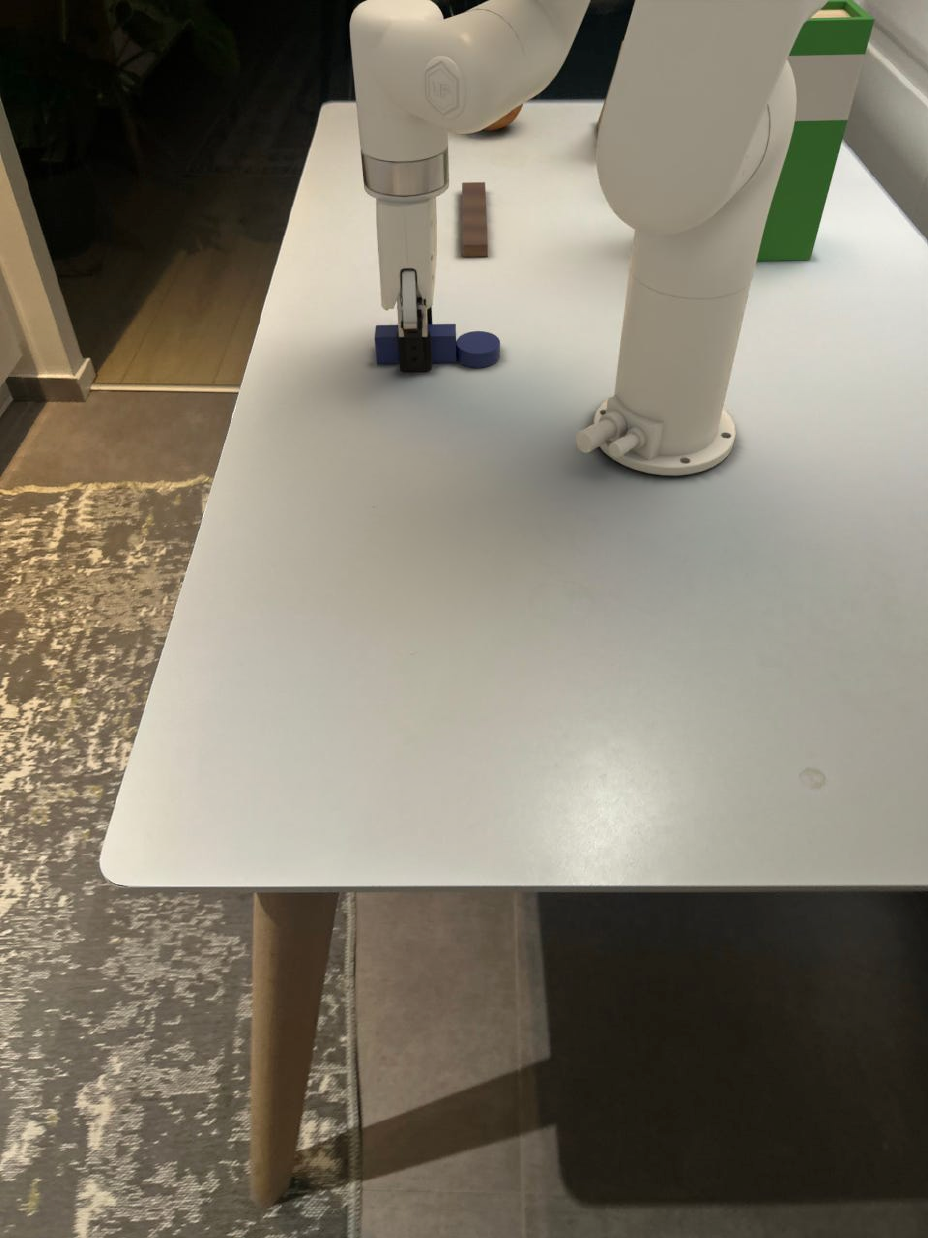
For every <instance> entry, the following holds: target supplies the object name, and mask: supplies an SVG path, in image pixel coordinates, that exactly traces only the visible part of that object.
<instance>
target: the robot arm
mask: <svg viewBox="0 0 928 1238" xmlns="http://www.w3.org/2000/svg"><path fill="white" fill-rule="evenodd" d="M828 1H829V0H634V3H633V6H632V11H631V15H630V18H629V21H628V25H627V28H626V32H625V34H624V39H623V40H622V41H623V45H622V48H621V47H620V48H621V52H620V51H619V52H620V55H619V54H618V55H619V59H618V58H617V59H618V62H617V61H616V63H617V65H616V64H615V66H616V69H615V68H614V70H615V72H614V71H613V73H614V76H613V75H612V76H613V79H612V78H611V79H612V83H611V86H610V85H609V86H610V90H609V93H608V92H607V93H608V97H607V100H606V104H605V107H604V111H603V115H602V119H601V123H600V128H599V131H598V134H597V140H596V149H595V150H596V152H595V153H596V155H595V157H596V160H595V162H596V172H597V178H598V183H599V185H600V188H601V191H602V194H603V196H604V199H605V201H606V202H607V204H608V206H609V207H610V209H611V210H612V212H613V213H614V214H615V215H616V216H617V217H618V219H619V220H621V222H623V223H624V224H625V225H627V226H628V227H630V228H631V229H633V230H634V233H633V239H632V245H631V246H632V247H631V254H630V262H629V267H628V275H627V284H626V293H625V301H624V309H623V316H622V317H623V318H622V326H621V334H620V342H619V352H618V361H617V366H616V367H617V368H616V376H615V384H614V393H613V395H612V396H611V395H610V396H609V397H608V398H607V399H605V400H604V401H603V402H602V403H600V405H599V407H598V408H597V409H596V412H595V414H594V417H593V424H591V425H589V426H587V427H585V428H584V429H583V428H582V430H580V431H578V432H577V433H576V434H575V438H574V441H575V443H576V446H577V448H578V450H580V451H581V452H582V453H583V454H584V453H585V454H589V453H590V452H592V451H594V450H595V449H597V448H600V449H601V450H602V452H603V453H604V454H606V455H607V456H608V457H609V458H611V460H613V461H616V462H617V463H619V464H621V465H623V466H624V467H627V468H629V469H632V470H634V471H639V472H642V473H645V474H650V475H657V476H671V477H672V476H673V477H674V476H676V477H677V476H685V475H692V474H697V473H702V472H704V471H706V470H709V469H712V468H714V467H715V466H717V465H718V464H720V463H722V462H723V461H724V460H725V459H726V458H727V457H728V456H729V455H730V453H731V451H732V450H733V448H734V443H735V440H736V425H735V423H734V420H733V418H732V417H731V415H730V414H729V412H728V411H727V410H726V409H725V408H724V405H725V401H726V396H727V393H728V387H729V384H730V379H731V374H732V370H733V365H734V361H735V356H736V352H737V348H738V343H739V339H740V335H741V330H742V326H743V321H744V316H745V311H746V308H747V304H748V298H749V294H750V290H751V285H752V281H753V279H754V274H755V269H756V266H757V262H758V261H757V257H758V252H759V248H760V243H761V239H762V235H763V231H764V227H765V224H766V220H767V216H768V212H769V209H770V206H771V202H772V199H773V196H774V192H775V189H776V186H777V183H778V180H779V176H780V173H781V170H782V167H783V164H784V161H785V158H786V154H787V151H788V148H789V144H790V140H791V136H792V132H793V128H794V122H795V116H796V103H797V98H796V85H795V79H794V76H793V72H792V69H791V66H790V64H789V62H788V60H787V58H788V56H789V54H790V51H791V49H792V47H793V45H794V42H795V40H796V38H797V36H798V34H799V32H800V30H801V28H802V26H803V24H804V23H805V22H806V21H807V20H809V19H810V18H811V17H812V16H813V15H814V14H816V13H817V12H818V11H819V10H820V9H821V8H822V7H823V6H824V5H825V4H826V3H827V2H828ZM590 3H591V0H486V1H484V2H482V3H481V4H478V5H477V6H473V7H472V8H470V9H468V10H466V11H464V12H462V13H460V14H457V15H453V16H451V17H447V18H445V19H444V15H443V13H442V11H441V9H440V8H439V6H438V5H437V4H436V3H435V2H433V1H432V0H365V1H362V2H361V3H359V4H358V5H357V6H356V7H355V8H354V9H353V11H352V13H351V16H350V20H349V40H350V51H351V61H352V62H351V63H352V72H353V73H352V74H353V81H354V82H353V83H354V94H355V95H354V96H355V105H356V115H357V116H356V117H357V125H358V136H359V137H358V138H359V147H360V159H361V171H362V179H363V181H362V182H363V189H364V191H365V192H366V194H367V195H369V196H370V197H372V198H374V199H375V219H376V223H375V224H376V240H377V241H376V242H377V243H376V244H377V257H378V269H379V270H378V272H379V285H380V286H379V287H380V304H381V305H380V306H381V308H382V309H383V310H385V311H389V310H394V309H395V307H396V309H397V310H396V311H397V325H398V329H399V332H397V340H398V353H399V363H398V364H399V370H400V371H401V372H430V371H432V370H433V363H432V353H431V332H428V326H427V324H433V305H434V297H435V285H436V275H437V261H438V260H437V259H438V222H437V221H438V217H437V216H438V215H437V214H438V213H437V197H440V196H441V195H442V194H444V193H445V192H446V191H448V189H449V188H450V161H449V159H450V158H449V157H450V156H449V132H450V133H455V134H461V135H467V134H474V133H477V132H480V131H482V130H484V128H486V127H488V126H489V125H491V124H493V123H494V122H496V121H497V120H499V119H500V118H502V117H503V116H505V115H507V114H508V113H510V112H511V111H512V110H513V109H515V108H516V107H518V106H519V105H521V104H523V105H524V104H525V103H526V102H528V101H530V100H531V99H533V98H535V97H536V96H537V95H539V94H540V93H542V92H543V91H544V90H545V89H546V88H548V86H549V85H550V84H551V82H552V81H553V80H554V79H555V78H556V76H557V75H558V74H559V72H560V70H561V68H562V66H563V65H564V63H565V61H566V59H567V57H568V55H569V53H570V50H571V49H572V46H573V43H574V41H575V39H576V36H577V35H578V33H579V29H580V28H581V27H580V26H581V24H582V22H583V19H584V17H585V14H586V12H587V10H588V8H589V6H590Z"/></svg>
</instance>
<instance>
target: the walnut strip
mask: <svg viewBox="0 0 928 1238" xmlns="http://www.w3.org/2000/svg"><path fill="white" fill-rule="evenodd" d="M486 193H487V192H486V182H485V181H482V182H481V181H477V182H475V181H474V182H473V181H472V182H471V181H470V182H469V181H468V182H467V181H466V182H462V183H461V237H462V238H461V242H462V243H461V251H462V252H461V254H462V256H461V257H462V258H479V257H480V258H481V257H482V258H483V257H486V258H487V257H488V256H489V240H488V239H489V237H488V216H487V215H488V214H487V194H486Z"/></svg>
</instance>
